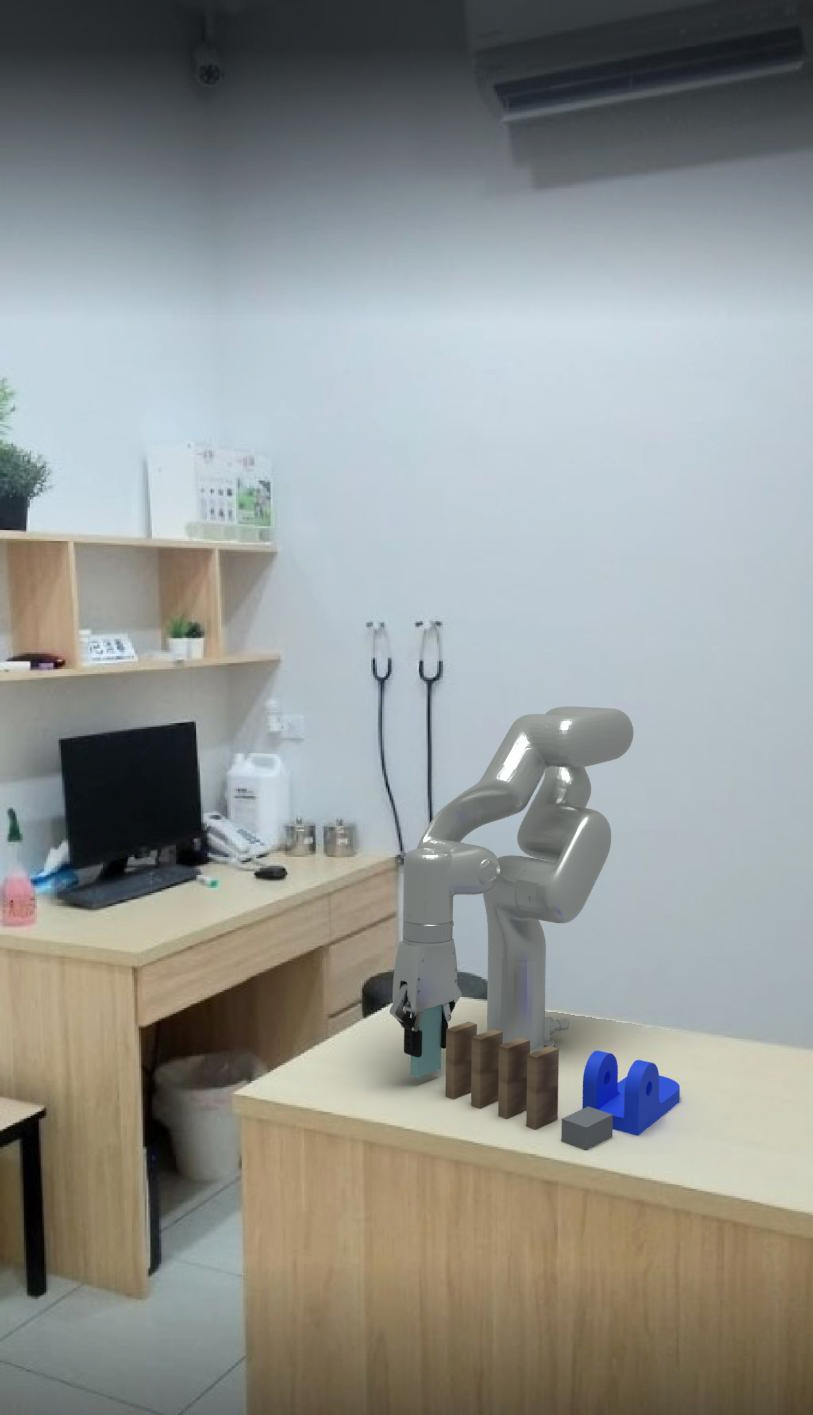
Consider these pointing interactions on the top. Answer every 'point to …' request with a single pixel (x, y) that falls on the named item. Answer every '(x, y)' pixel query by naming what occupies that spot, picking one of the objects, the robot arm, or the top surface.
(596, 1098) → the bracket
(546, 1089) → the tile
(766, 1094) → the top surface
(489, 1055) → the tile
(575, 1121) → the block
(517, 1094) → the tile
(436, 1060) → the tile
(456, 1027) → the tile
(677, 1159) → the top surface
